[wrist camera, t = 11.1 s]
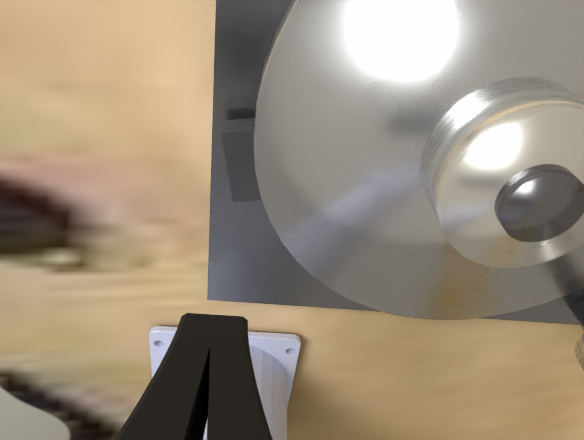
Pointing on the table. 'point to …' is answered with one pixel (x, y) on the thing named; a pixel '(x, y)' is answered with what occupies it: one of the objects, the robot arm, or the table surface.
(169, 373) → the robot arm
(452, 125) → the cover
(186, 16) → the table surface
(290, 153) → the platter
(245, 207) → the turntable base
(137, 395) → the table surface
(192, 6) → the table surface
